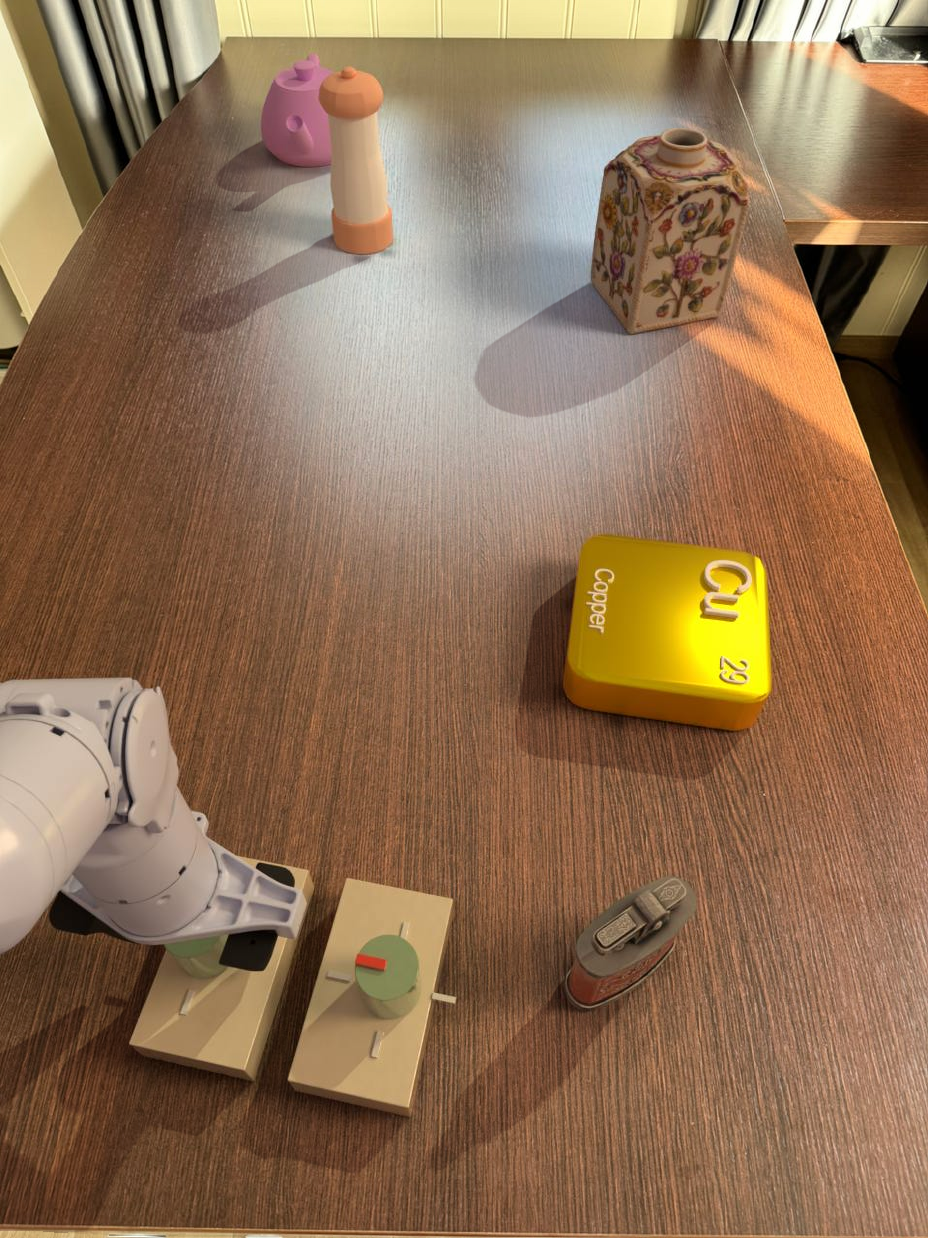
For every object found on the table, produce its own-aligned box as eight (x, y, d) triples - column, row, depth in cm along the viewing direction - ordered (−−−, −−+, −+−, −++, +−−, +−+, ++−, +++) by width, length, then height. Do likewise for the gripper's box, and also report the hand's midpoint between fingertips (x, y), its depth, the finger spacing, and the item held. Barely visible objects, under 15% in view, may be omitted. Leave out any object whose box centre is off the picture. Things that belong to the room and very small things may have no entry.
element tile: (577, 562, 78) (584, 524, 74) (753, 586, 76) (769, 548, 72) (559, 707, 69) (565, 672, 65) (758, 737, 67) (776, 702, 63)
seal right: (427, 963, 54) (425, 940, 51) (413, 1025, 52) (410, 1005, 48) (370, 950, 54) (364, 926, 51) (353, 1012, 52) (346, 991, 49)
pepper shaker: (339, 221, 113) (321, 52, 98) (397, 224, 112) (387, 55, 97) (329, 252, 108) (307, 80, 93) (388, 256, 108) (376, 83, 93)
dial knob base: (434, 1123, 51) (433, 1113, 49) (294, 1091, 52) (286, 1080, 50) (474, 919, 59) (474, 901, 56) (350, 894, 60) (345, 876, 57)
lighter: (650, 908, 59) (679, 845, 51) (685, 952, 57) (720, 894, 49) (552, 977, 56) (567, 922, 49) (585, 1025, 55) (606, 976, 47)
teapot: (251, 184, 118) (235, 98, 110) (275, 117, 131) (262, 35, 122) (355, 186, 118) (347, 100, 110) (369, 118, 130) (363, 36, 122)
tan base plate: (254, 1081, 53) (243, 1070, 50) (121, 1051, 54) (104, 1038, 51) (314, 887, 60) (308, 868, 57) (196, 863, 61) (185, 844, 58)
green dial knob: (225, 984, 53) (209, 962, 50) (168, 972, 54) (148, 949, 50) (246, 925, 55) (232, 899, 52) (191, 913, 56) (173, 887, 52)
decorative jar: (627, 337, 98) (655, 172, 84) (585, 281, 105) (605, 118, 90) (725, 318, 100) (768, 153, 86) (678, 263, 107) (711, 102, 93)
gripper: (308, 797, 44) (338, 898, 55) (36, 746, 46) (117, 853, 57) (260, 939, 40) (303, 1018, 51) (-37, 877, 42) (65, 966, 52)
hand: (202, 939), depth 53 cm, fingers open, 7 cm apart
